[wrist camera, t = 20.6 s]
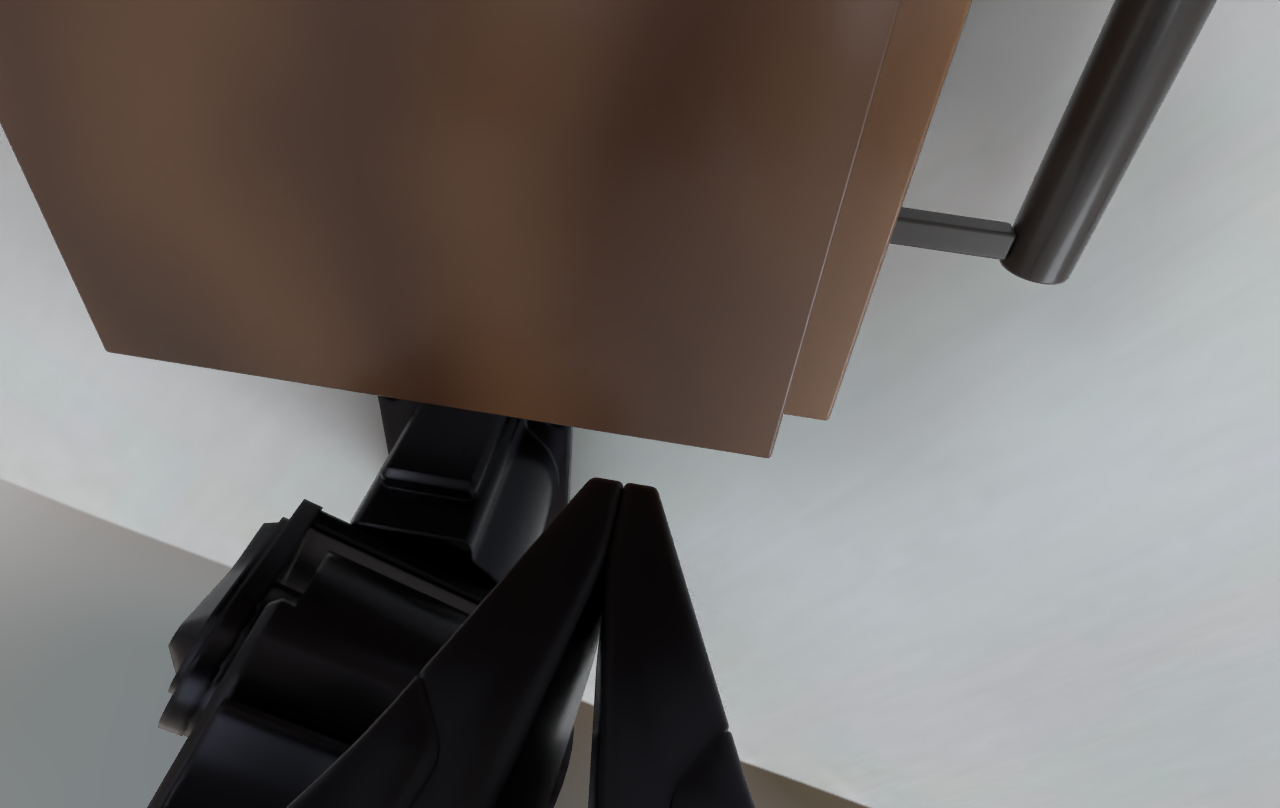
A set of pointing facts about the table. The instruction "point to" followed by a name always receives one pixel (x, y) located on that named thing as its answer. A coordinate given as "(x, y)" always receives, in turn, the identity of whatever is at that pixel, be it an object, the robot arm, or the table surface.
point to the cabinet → (456, 193)
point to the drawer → (1057, 199)
